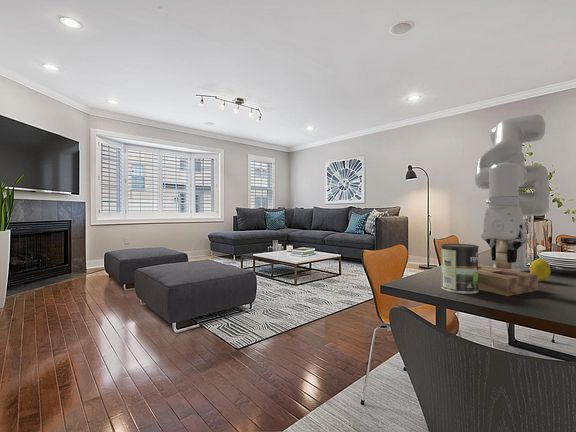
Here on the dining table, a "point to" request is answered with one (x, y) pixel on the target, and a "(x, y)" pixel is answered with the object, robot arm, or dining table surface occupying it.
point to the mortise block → (506, 281)
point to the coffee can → (460, 268)
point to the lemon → (540, 269)
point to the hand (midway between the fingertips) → (503, 260)
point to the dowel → (502, 254)
